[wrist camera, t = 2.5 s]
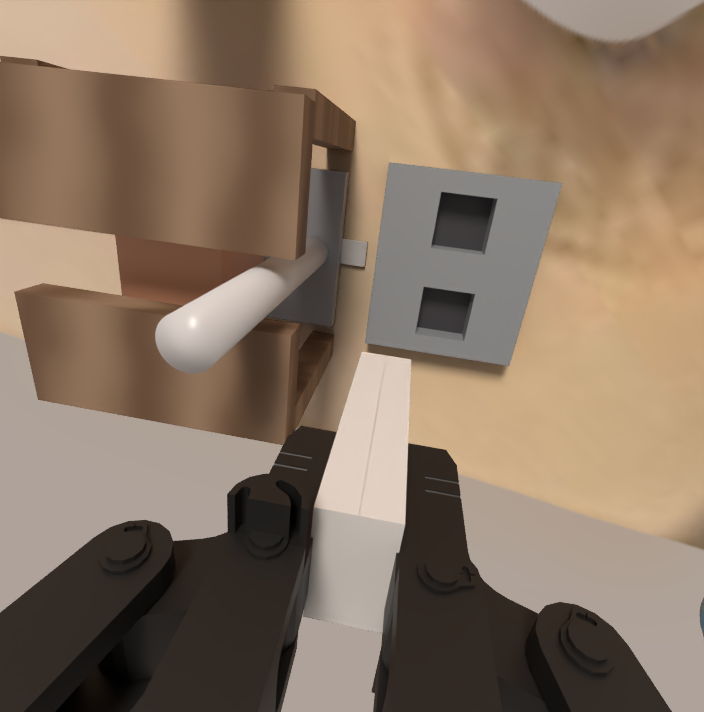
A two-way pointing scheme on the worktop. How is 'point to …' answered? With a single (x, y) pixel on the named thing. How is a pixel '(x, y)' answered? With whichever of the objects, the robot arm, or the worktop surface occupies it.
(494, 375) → the worktop surface
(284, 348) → the wooden rack
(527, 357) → the worktop surface
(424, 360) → the worktop surface
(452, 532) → the robot arm
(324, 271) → the white lever handle
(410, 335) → the pit plate
